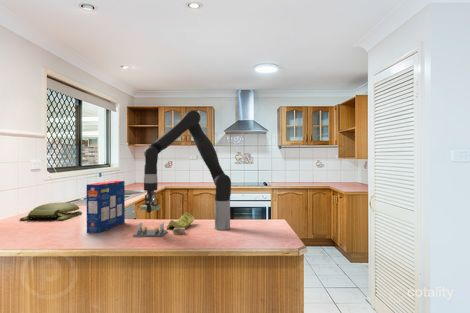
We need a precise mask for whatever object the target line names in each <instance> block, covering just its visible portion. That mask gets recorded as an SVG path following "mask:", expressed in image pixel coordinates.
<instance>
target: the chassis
mask: <svg viewBox="0 0 470 313" xmlns="http://www.w3.org/2000/svg"><path fill="white" fill-rule="evenodd" d="M136 229H137V232H135V233H134V234H133V235H132V237H133V238H137V237H138V238H163V237H164V236H165V235H166V233H167V232H168V230H167V229H165V222H161V224H159V226H157V227H156V228H154V229H148V228H147V226H145V227H143V222H139V223H138V224H137V228H136Z"/></svg>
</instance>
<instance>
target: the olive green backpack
mask: <svg viewBox="0 0 470 313" xmlns="http://www.w3.org/2000/svg"><path fill="white" fill-rule="evenodd" d="M70 212H71V213H70ZM65 213H69V214H65ZM81 214H83V212H82V211H80V207H79V205H77V204H75V203H70V202H50V203H45V204H42V205H38V206H36V207H34V208H33V209H32V210H30V212H29V213H28V214H27V215H26V216H23V217H20V218H19V221H20V222H26V221H29V220H33V219H37V218H41V219H42V218H44V219H45V218H56V221H58V222H65V221H66V220H69V219H71V218H74V217H77V216H80V215H81ZM57 217H58V218H57Z"/></svg>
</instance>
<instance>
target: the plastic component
mask: <svg viewBox="0 0 470 313" xmlns="http://www.w3.org/2000/svg"><path fill="white" fill-rule="evenodd" d="M194 220H195V217H194V216H193V215H192V214H190V213H189V212H186V211H185V212H184V213H183V214H182V215H181V216H180V218H178V219H177V220H173V219H171V220H170V221H169V222H168V223H167V224H168V225H167V226H166V230H167V229H168V230H169V229H171V228H172V227H174V228H185V229H187V228H188V227H190V226H191V224H193V222H194Z"/></svg>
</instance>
